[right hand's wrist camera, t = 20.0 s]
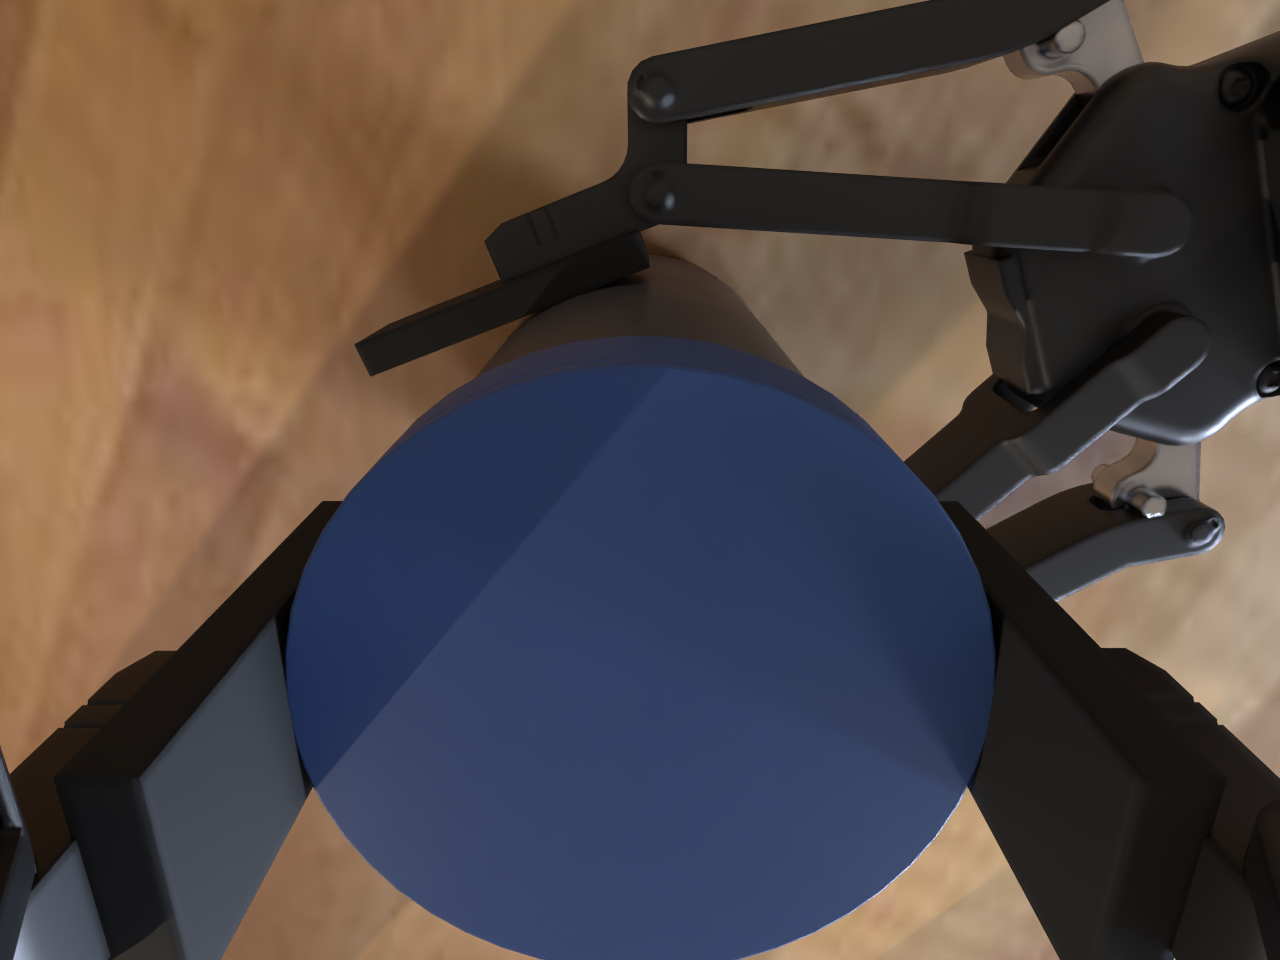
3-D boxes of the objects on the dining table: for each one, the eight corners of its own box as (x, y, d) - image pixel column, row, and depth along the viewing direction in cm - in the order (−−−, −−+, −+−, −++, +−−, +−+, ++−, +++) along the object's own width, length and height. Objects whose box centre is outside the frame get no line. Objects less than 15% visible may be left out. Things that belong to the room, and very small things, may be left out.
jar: (479, 466, 27) (277, 833, 12) (551, 214, 24) (407, 278, 9) (717, 540, 28) (808, 968, 13) (812, 305, 25) (1066, 497, 10)
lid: (1008, 358, 11) (1076, 393, 9) (889, 888, 14) (924, 987, 12) (314, 311, 10) (252, 336, 9) (349, 859, 13) (308, 956, 12)
